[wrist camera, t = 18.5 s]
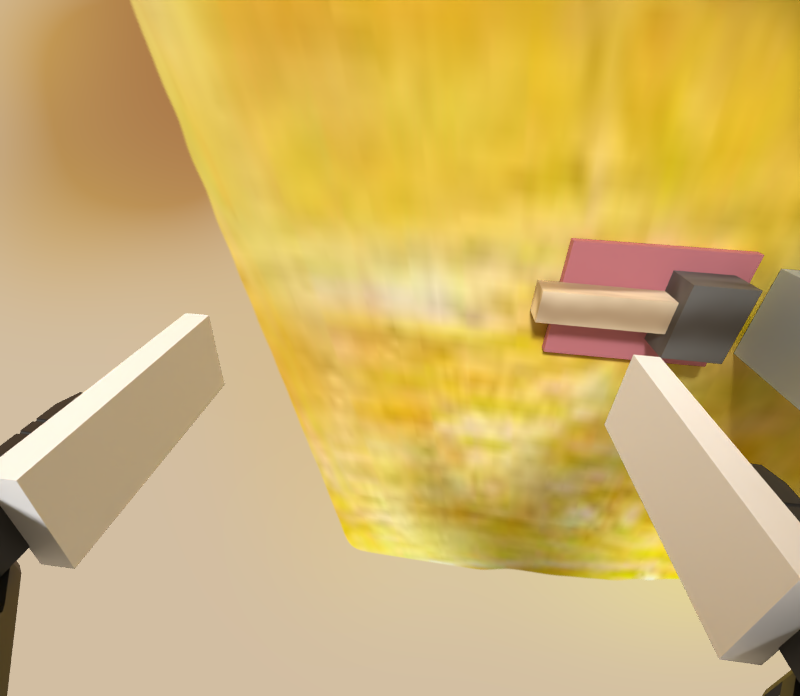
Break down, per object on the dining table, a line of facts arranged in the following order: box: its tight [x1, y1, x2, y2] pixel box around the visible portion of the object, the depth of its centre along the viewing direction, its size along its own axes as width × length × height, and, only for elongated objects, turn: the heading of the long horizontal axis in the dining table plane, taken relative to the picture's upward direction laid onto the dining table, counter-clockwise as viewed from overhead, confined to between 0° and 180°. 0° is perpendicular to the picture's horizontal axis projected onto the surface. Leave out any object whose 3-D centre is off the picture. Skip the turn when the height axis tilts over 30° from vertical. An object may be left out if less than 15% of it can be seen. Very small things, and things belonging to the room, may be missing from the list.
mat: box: [542, 238, 764, 367], centre depth 43 cm, size 13×18×1 cm
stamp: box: [530, 270, 762, 364], centre depth 41 cm, size 8×19×4 cm, turn 87°
